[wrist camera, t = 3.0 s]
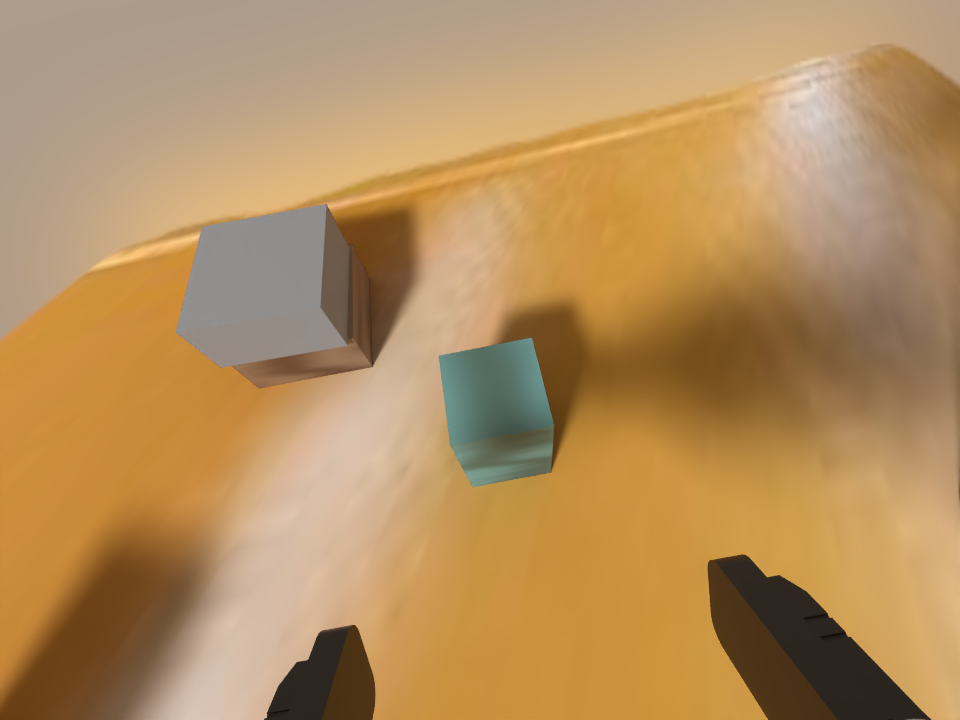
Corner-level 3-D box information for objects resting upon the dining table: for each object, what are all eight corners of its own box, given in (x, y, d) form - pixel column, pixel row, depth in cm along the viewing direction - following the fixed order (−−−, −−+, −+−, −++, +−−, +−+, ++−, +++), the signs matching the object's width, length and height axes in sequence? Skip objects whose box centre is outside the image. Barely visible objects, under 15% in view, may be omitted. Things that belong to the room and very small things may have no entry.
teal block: (533, 400, 28) (531, 337, 22) (551, 472, 26) (554, 425, 20) (462, 414, 29) (438, 355, 22) (472, 487, 26) (450, 445, 20)
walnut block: (370, 279, 35) (352, 243, 32) (374, 368, 31) (353, 338, 28) (270, 299, 36) (241, 265, 32) (261, 390, 32) (227, 362, 28)
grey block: (349, 248, 32) (326, 204, 28) (347, 345, 28) (320, 307, 24) (238, 269, 32) (202, 226, 28) (220, 367, 28) (175, 332, 24)
